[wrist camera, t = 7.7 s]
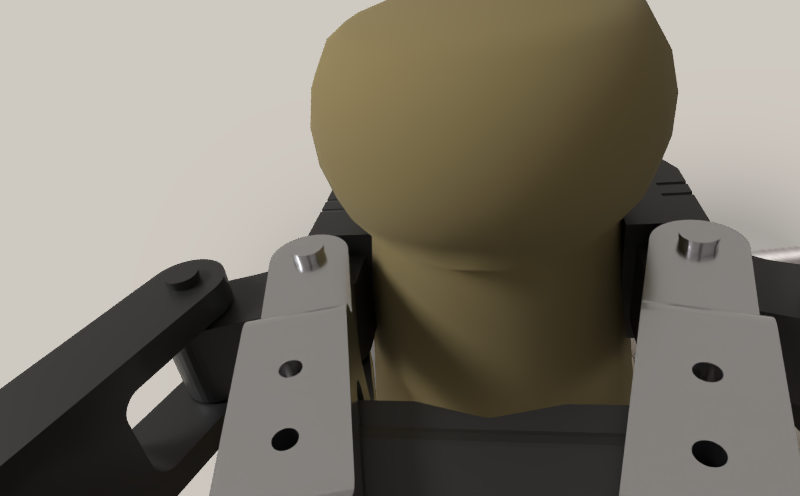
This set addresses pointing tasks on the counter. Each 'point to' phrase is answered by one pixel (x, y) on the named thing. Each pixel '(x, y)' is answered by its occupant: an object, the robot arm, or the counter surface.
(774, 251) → the counter surface
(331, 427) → the robot arm
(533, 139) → the cork
